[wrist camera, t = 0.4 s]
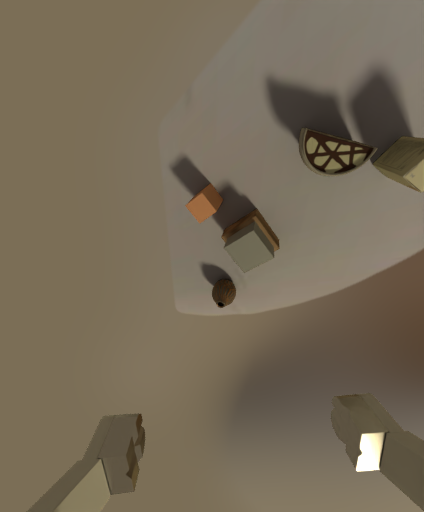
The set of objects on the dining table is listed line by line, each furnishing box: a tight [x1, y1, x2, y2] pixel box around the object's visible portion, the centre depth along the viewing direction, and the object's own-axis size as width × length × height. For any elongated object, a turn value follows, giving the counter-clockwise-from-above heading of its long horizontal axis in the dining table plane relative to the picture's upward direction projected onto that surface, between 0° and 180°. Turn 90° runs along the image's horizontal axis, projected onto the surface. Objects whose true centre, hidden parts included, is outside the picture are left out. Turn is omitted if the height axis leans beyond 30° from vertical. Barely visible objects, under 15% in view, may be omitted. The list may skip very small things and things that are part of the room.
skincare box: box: [373, 136, 424, 193], centre depth 38 cm, size 6×4×12 cm
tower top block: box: [224, 221, 274, 273], centre depth 52 cm, size 8×8×5 cm
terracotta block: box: [186, 183, 223, 223], centre depth 52 cm, size 5×5×8 cm
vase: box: [212, 279, 236, 308], centre depth 65 cm, size 7×7×9 cm
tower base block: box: [221, 209, 279, 251], centre depth 56 cm, size 10×10×5 cm
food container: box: [299, 128, 378, 176], centre depth 41 cm, size 12×6×10 cm, turn 77°
